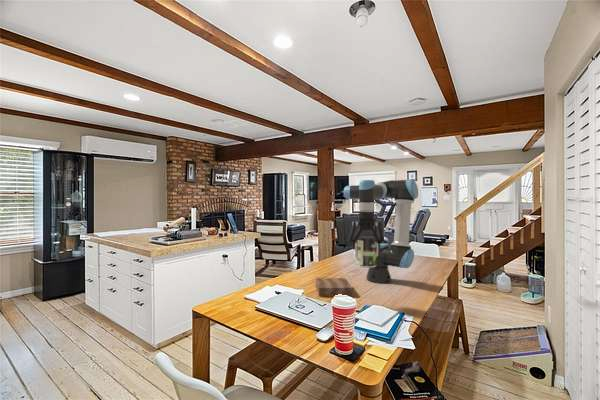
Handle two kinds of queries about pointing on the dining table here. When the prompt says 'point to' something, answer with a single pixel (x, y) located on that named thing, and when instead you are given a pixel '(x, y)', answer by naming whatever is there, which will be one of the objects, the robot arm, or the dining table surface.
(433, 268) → the dining table surface
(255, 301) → the dining table surface
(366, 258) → the coffee can
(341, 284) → the walnut block
